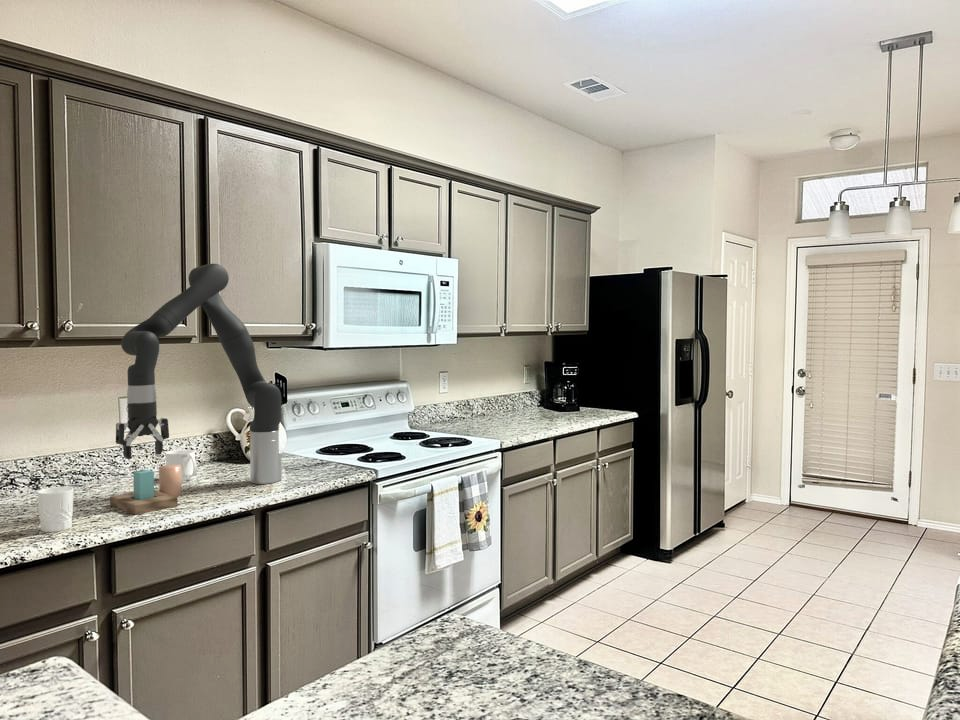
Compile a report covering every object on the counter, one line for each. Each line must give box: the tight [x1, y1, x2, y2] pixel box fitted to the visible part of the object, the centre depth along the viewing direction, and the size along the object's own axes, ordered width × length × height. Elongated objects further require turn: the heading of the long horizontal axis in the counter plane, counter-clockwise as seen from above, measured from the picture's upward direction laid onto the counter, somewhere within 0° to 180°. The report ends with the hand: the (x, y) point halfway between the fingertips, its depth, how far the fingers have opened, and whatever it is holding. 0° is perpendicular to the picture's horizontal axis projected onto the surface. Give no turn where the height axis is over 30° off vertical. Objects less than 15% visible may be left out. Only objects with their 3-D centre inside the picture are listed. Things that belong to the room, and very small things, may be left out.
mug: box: [165, 449, 198, 482], centre depth 235 cm, size 12×9×9 cm
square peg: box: [132, 469, 155, 500], centre depth 200 cm, size 4×4×10 cm
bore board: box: [109, 489, 179, 516], centre depth 200 cm, size 12×16×2 cm
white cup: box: [36, 486, 74, 533], centre depth 176 cm, size 8×8×10 cm
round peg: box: [158, 464, 183, 497], centre depth 212 cm, size 6×6×9 cm
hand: (143, 456), depth 199 cm, fingers open, 8 cm apart
